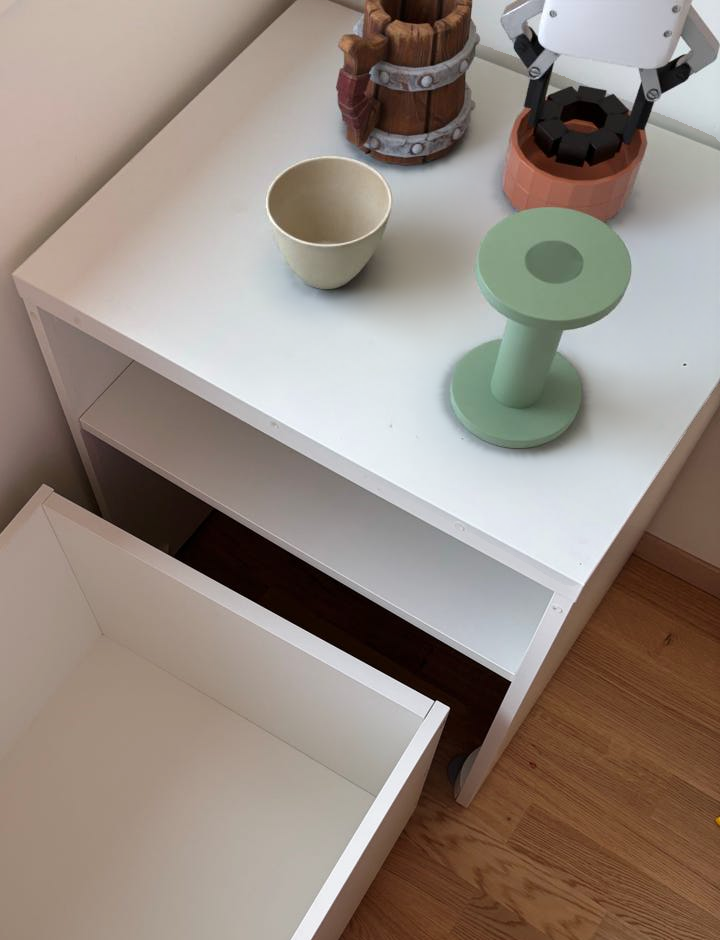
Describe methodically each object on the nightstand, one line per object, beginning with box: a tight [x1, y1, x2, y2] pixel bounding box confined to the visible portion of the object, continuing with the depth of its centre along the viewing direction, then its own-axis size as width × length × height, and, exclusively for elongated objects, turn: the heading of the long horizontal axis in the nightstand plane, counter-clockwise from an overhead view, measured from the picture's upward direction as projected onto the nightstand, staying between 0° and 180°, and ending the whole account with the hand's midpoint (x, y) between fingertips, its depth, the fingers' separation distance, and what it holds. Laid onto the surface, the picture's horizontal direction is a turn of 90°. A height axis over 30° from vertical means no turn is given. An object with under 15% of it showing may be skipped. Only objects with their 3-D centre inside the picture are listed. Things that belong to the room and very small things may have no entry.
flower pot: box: [265, 155, 393, 290], centre depth 82 cm, size 10×10×7 cm
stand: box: [449, 207, 632, 449], centre depth 72 cm, size 10×10×14 cm
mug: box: [335, 0, 481, 166], centre depth 86 cm, size 12×14×15 cm
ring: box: [533, 84, 630, 167], centre depth 82 cm, size 7×7×2 cm
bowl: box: [501, 95, 648, 223], centre depth 85 cm, size 11×11×5 cm
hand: (582, 122), depth 82 cm, fingers closed on ring, 7 cm apart
